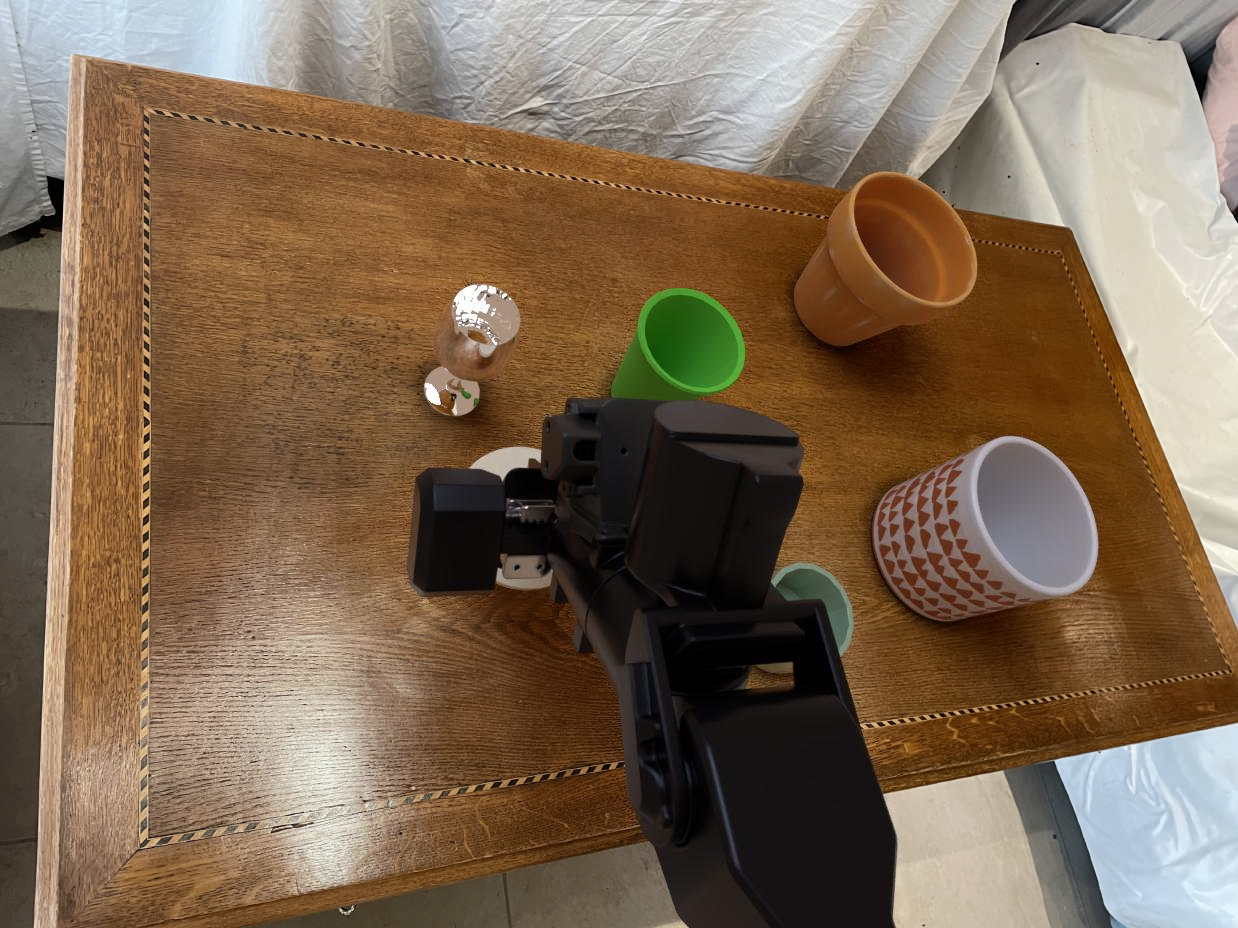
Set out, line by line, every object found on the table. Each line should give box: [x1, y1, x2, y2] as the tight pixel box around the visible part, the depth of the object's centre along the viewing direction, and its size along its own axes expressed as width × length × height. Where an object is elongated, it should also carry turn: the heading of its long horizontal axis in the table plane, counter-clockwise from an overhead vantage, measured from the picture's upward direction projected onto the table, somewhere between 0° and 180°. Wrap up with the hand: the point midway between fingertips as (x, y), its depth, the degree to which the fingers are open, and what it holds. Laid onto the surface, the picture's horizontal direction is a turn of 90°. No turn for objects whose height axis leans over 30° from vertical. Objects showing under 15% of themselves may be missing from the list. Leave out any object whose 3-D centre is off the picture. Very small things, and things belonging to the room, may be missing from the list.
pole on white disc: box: [468, 446, 561, 591], centre depth 49 cm, size 10×10×11 cm
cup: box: [610, 287, 746, 401], centre depth 64 cm, size 9×9×11 cm
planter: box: [871, 435, 1099, 622], centre depth 70 cm, size 14×14×13 cm
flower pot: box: [793, 171, 978, 347], centre depth 76 cm, size 14×14×13 cm
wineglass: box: [423, 283, 521, 417], centre depth 57 cm, size 6×6×12 cm
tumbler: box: [754, 562, 855, 675], centre depth 64 cm, size 8×8×6 cm
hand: (552, 466), depth 48 cm, fingers closed on pole on white disc, 2 cm apart
